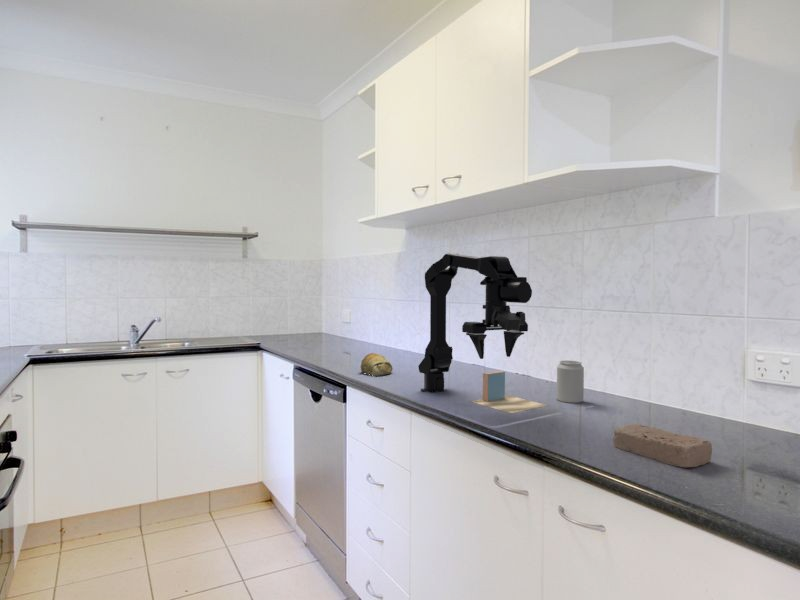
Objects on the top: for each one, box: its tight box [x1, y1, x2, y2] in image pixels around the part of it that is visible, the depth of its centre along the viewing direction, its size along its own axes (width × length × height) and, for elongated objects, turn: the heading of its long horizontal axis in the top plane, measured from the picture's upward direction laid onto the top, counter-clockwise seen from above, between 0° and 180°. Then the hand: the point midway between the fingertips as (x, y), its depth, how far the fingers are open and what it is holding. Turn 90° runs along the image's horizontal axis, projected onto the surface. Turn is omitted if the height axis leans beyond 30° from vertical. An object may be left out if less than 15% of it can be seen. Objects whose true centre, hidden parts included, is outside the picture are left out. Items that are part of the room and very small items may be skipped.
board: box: [470, 394, 550, 414], centre depth 142 cm, size 16×15×1 cm
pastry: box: [360, 352, 393, 377], centre depth 195 cm, size 14×12×8 cm
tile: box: [482, 370, 506, 402], centre depth 147 cm, size 2×7×8 cm, turn 124°
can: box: [556, 360, 585, 404], centre depth 146 cm, size 8×8×12 cm
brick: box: [612, 423, 713, 468], centre depth 101 cm, size 17×8×5 cm, turn 31°
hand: (495, 357), depth 139 cm, fingers open, 9 cm apart
